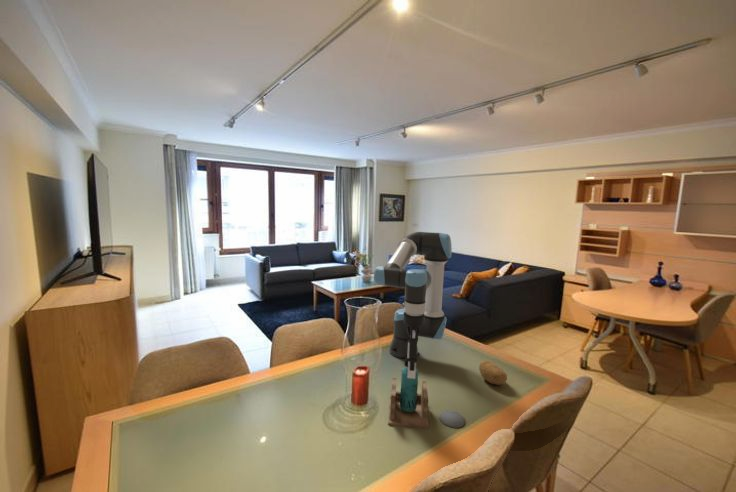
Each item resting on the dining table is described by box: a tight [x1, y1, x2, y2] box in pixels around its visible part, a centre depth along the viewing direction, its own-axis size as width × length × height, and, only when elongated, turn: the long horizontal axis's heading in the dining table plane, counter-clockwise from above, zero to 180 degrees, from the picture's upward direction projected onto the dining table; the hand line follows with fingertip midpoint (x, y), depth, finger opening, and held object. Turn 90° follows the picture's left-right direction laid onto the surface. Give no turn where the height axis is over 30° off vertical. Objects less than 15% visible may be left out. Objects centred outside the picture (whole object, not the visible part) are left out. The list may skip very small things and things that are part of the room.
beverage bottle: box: [399, 358, 419, 412], centre depth 119 cm, size 6×7×20 cm
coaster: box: [438, 409, 466, 429], centre depth 117 cm, size 9×9×1 cm
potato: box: [478, 359, 508, 386], centre depth 144 cm, size 10×14×8 cm
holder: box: [387, 377, 429, 430], centre depth 119 cm, size 16×14×10 cm
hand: (410, 367), depth 118 cm, fingers open, 13 cm apart
